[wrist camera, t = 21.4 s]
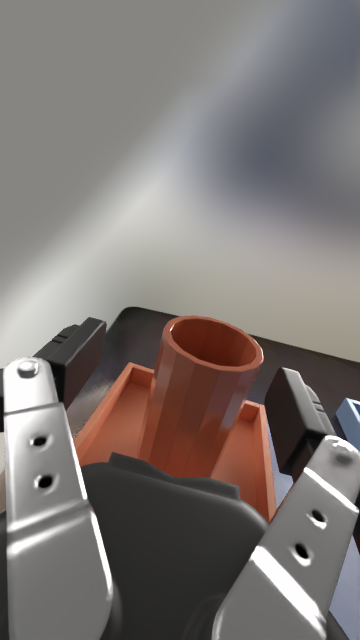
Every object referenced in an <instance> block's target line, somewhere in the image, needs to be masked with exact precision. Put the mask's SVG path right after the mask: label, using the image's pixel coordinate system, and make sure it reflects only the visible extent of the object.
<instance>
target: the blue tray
mask: <svg viewBox="0 0 360 640" xmlns="http://www.w3.org/2000/svg"><path fill="white" fill-rule="evenodd" d="M336 415H337V418H338V420H339V422H340V424H341V427H342V429H343V431H344V433H345V436H346V438H347V440H348V443H349V444H351V445H352V446H353V447H354V448H355V449H356V450H357V451H358V452H359V453H360V402H358V401H355V400H351V399H348V398H345V400H344V401H343V403H342V404H341V406H340V408H339V409H338V411H337V412H336Z"/></svg>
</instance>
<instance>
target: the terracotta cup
mask: <svg viewBox="0 0 360 640" xmlns="http://www.w3.org/2000/svg"><path fill="white" fill-rule="evenodd" d="M263 360H264V359H263V352H262V349H261V347H260V346H259V345H258V344H257V342H256V341H255V340H254V339H253V338H252V337H251V336H249V335H248V334H246V333H245V332H243V331H242V330H241V329H238V328H236V327H234V326H232V325H230V324H228V323H225V322H223V321H219V320H216V319H212V318H208V317H201V316H182V317H177V318H175V319H173V320H170V321H169V322H168V323H167V325H166V326H165V328H164V329H163V334H162V338H161V343H160V347H159V352H158V356H157V360H156V365H155V369H154V374H153V378H152V383H151V387H150V392H149V396H148V400H147V405H146V409H145V414H144V418H143V423H142V427H141V431H140V436H139V440H138V448H137V459H141V460H144V461H146V462H147V463H149V464H151V465H153V466H155V467H157V468H158V469H160V470H162V471H164V472H166V473H167V474H169V475H171V476H174V477H208V478H212V476H213V474H214V472H215V471H216V468H217V466H218V464H219V462H220V459H221V457H222V455H223V452H224V450H225V448H226V445H227V443H228V441H229V439H230V436H231V434H232V432H233V429H234V427H235V425H236V422H237V420H238V418H239V416H240V413H241V411H242V409H243V406H244V404H245V402H246V399H247V397H248V395H249V392H250V390H251V388H252V386H253V383H254V381H255V379H256V376H257V374H258V372H259V369H260V367H261V365H262V363H263Z"/></svg>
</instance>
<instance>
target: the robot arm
mask: <svg viewBox="0 0 360 640" xmlns="http://www.w3.org/2000/svg"><path fill="white" fill-rule="evenodd" d="M106 325H107V324H106V321H102V320H98V319H95V318H91V317H89V318H88V319H86V320H85V321H84V322H83V324H81V325H80V326H79V325H72V326H70V327H67V328H65V329H63V330H62V331H61V332H60V333H59V334H58V335H57V336H55V337H54V338H53V339H52V341H50V342H49V343H47V344H46V345H45V346H44V347H43V348H42V349H41V350H39V351H38V352H37V353H36V354H35V355H34V356H33V357H26V358H20V359H17V360H14V361H12V362H10V363H9V364H8V365H6V367H5V368H4V369H0V432H4V443H5V480H6V511H4V512H3V513H1V514H0V640H349V638H348V637H347V635H346V634H345V632H344V631H343V629H342V628H341V627H340V625H339V624H338V622H337V621H336V619H335V618H334V616H333V615H332V613H331V612H330V611H329V607H330V604H331V601H332V598H333V594H334V591H335V588H336V585H337V581H338V578H339V575H340V572H341V569H342V565H343V562H344V559H345V556H346V553H347V549H348V546H349V543H350V540H351V536H352V534H353V537H354V540H355V543H356V545H357V548H358V551H359V554H360V453H359V452H358V451H357V450H356V449H355V448H354V447H353V446H352V445H351V444H349V443H348V442H346V441H344V440H342V439H340V438H338V437H337V435H336V433H335V431H334V429H333V427H332V425H331V423H330V421H329V419H328V417H327V415H326V413H324V409H323V407H322V405H320V404H321V403H320V401H319V399H318V397H317V395H316V394H315V393H314V392H313V391H312V390H311V389H310V387H309V386H308V385H304V382H303V380H302V378H301V376H300V374H299V372H297V371H294V370H290V369H286V368H282V367H281V368H279V369H278V371H277V372H276V375H275V377H274V379H273V381H272V383H271V385H270V387H269V389H268V391H267V393H266V397H265V403H264V405H265V411H266V415H267V419H268V424H269V428H270V433H271V437H272V441H273V446H274V450H275V454H276V459H277V463H278V467H279V472H280V473H282V474H286V475H290V476H292V479H293V482H294V484H293V485H292V487H291V488H290V490H289V491H288V493H287V495H286V496H285V498H284V499H283V501H282V503H281V504H280V506H279V507H278V509H277V510H276V512H275V514H274V515H273V517H272V518H271V520H270V521H269V523H268V522H267V520H266V519H265V518H264V517H263V516H262V515H261V514H260V513H259V512H258V511H257V510H256V509H255V508H253V507H252V506H251V505H250V504H248V503H247V502H245V501H244V500H242V499H240V494H239V486H237V485H234V484H230V483H226V482H223V481H219V480H215V479H211V478H208V477H174V476H171V475H169V474H167V473H166V472H164V471H162V470H160V469H158V468H157V467H155V466H153V465H151V464H149V463H147V462H146V461H144V460H141V459H137V458H133V457H130V456H126V455H122V454H118V453H115V452H112V453H111V456H110V458H109V461H108V462H99V463H92V464H88V465H84V466H81V467H79V463H78V459H77V455H76V451H75V447H74V443H73V439H72V435H71V431H70V427H69V423H68V419H67V415H66V410H67V409H68V407H69V406H70V404H71V403H72V402H73V400H74V399H75V397H76V396H77V394H78V393H79V391H80V390H81V389H82V387H83V386H84V384H85V383H86V381H87V380H88V378H89V377H90V376H91V374H92V373H93V371H94V370H95V368H96V367H97V365H98V364H99V362H100V360H101V358H102V355H103V350H104V342H105V334H106Z"/></svg>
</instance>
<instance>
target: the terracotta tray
mask: <svg viewBox="0 0 360 640" xmlns="http://www.w3.org/2000/svg"><path fill="white" fill-rule="evenodd" d="M153 374H154V370H152V369H148V368H145V367H142V366H139V365H136V364H133V363H130V362H129V363H128V365H127V366H126V367H125V369H124V370H123V372H122V373H121V375H120V376H119V377H118V379H117V380H116V382H115V383H114V384H113V386H112V387H111V389H110V390H109V392H108V393H107V394H106V396H105V397H104V399H103V400H102V401H101V403H100V404H99V406H98V407H97V409H96V410H95V411H94V413H93V414H92V416H91V417H90V418H89V420H88V421H87V423H86V424H85V425H84V427H83V428H82V430H81V431H80V433H79V434H78V435H77V437H76V438H75V440H74V441H73V443H74V447H75V451H76V455H77V459H78V463H79V467H81V466H84V465H88V464H92V463H99V462H108V461H109V458H110V456H111V453H112V452H115V453H118V454H122V455H126V456H130V457H133V458H137V448H138V440H139V436H140V431H141V427H142V423H143V418H144V414H145V409H146V405H147V400H148V396H149V392H150V387H151V383H152V378H153ZM211 479H215V480H219V481H223V482H226V483H230V484H234V485H237V486H239V494H240V499H242V500H244V501H245V502H247V503H248V504H250V505H251V506H252V507H253V508H255V509H256V510H257V511H258V512H259V513H260V514H261V515H262V516H263V517H264V518H265V519H266V520H267V522H268V523H269V521H270V520H271V518H272V517H273V515H274V514H275V512H276V501H275V492H274V483H273V474H272V465H271V456H270V447H269V438H268V429H267V420H266V411H265V406H264V405H261V404H257V403H254V402H251V401H248V400H246V402H245V404H244V406H243V409H242V411H241V413H240V416H239V418H238V420H237V422H236V425H235V427H234V429H233V432H232V434H231V436H230V439H229V441H228V443H227V445H226V448H225V450H224V452H223V455H222V457H221V459H220V462H219V464H218V466H217V468H216V471H215V472H214V474H213V476H212V478H211Z"/></svg>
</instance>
